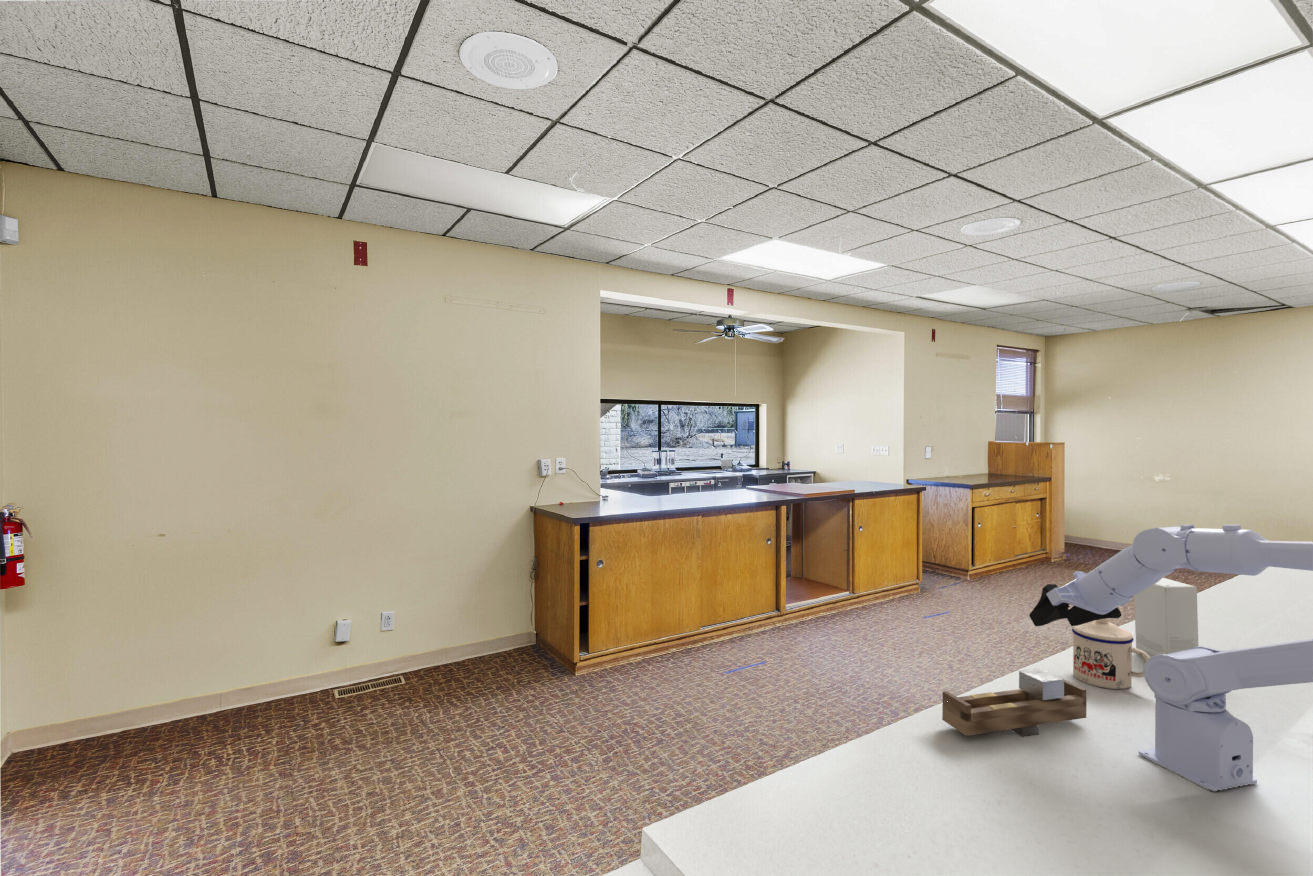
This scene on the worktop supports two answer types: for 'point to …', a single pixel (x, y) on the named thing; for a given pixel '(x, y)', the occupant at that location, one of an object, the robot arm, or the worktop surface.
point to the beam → (1011, 710)
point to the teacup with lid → (1104, 655)
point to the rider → (1041, 684)
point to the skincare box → (1166, 618)
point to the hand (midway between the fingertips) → (1051, 620)
